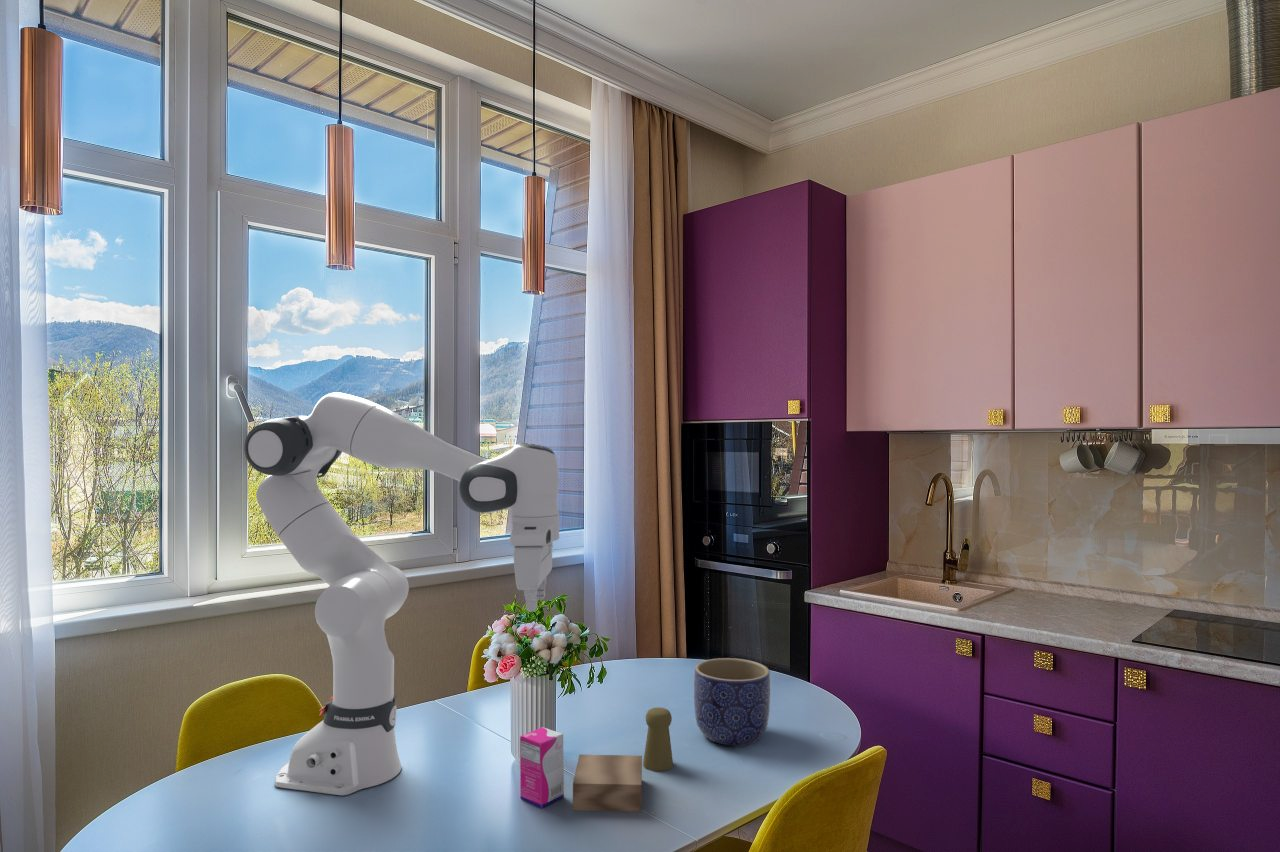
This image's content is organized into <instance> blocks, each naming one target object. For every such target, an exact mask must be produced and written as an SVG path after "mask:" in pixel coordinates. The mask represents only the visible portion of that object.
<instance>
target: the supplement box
mask: <svg viewBox="0 0 1280 852" xmlns="http://www.w3.org/2000/svg"><path fill="white" fill-rule="evenodd" d="M519 742H520V743H519V748H520V749H519V753H520V755H519V758H520V759H519V763H520V764H519V766H520V767H519V768H520V773H519V774H520V776H519V777H520V782H519V783H520V784H519V785H520V788H519V789H520V796H519V797H520V800H524V801H525V802H527V803H529V804H532V805H533V806H536V807H538V808H541V809H543V808H545V807H546V806H549V805H551V804H552V803H554V802H557V801H559V800H561V799H562V798H564V797H565V791H564V789H565V787H564V785H565V780H564V777H565V776H564V775H565V773H564V771H565V770H564V734H563V733H562V732H558V731H555V730H552V729H549V728H547V727H543V726H542V727H539V728H536V729H534V730H532V731H529V732H527V733H525V734H522V735H520V736H519Z"/></svg>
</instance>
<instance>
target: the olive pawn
mask: <svg viewBox="0 0 1280 852" xmlns="http://www.w3.org/2000/svg"><path fill="white" fill-rule="evenodd" d="M672 719H673V716H672V713H671V712H670V710H668V709H667V708H664V707H652V708H650V709H648V711H647V712H646V714H645V722H646V725H647V733H646V738H645V739H646V740H645V748H644V755H643V760H642V767H644V769H646V770H649V771H652V772H666V771H670V770H671V769H672V768H673V767H674V763H673V762H674V760H673V753H672V752H673V751H672V744H671V735H670V726H671V724H672Z"/></svg>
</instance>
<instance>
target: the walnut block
mask: <svg viewBox="0 0 1280 852" xmlns="http://www.w3.org/2000/svg"><path fill="white" fill-rule="evenodd" d="M642 775H643V755H626V754H625V755H623V754H622V755H620V754H578V758H577V763H576V768H575V773H574V776H573V777H574V778H573V782H572V811H598V812H599V811H600V812H606V811H607V812H642V786H643V785H642V783H643V782H642V780H643V776H642Z"/></svg>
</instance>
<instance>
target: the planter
mask: <svg viewBox="0 0 1280 852" xmlns="http://www.w3.org/2000/svg"><path fill="white" fill-rule="evenodd" d="M693 678H694V679H693V683H694V684H693V685H694V686H693V693H694V694H693V695H694V696H693V701H694V717H695V722H696V724H697V727H698V729H699V731H700V733H701V734H703V736H704V737H706V738H707V739H708V740H709V741H711V742H714V743H716V744H719V745H722V746H729V747H730V746H731V747H742V746H747V745H750V744H753V743H754V742H756V741H758V740H759V739H760V738H761V737H762V736H763V735H764V733H765V732H766V730H767V728H768V725H769V719H770V711H771V710H770V709H771V708H770V707H771V672H770V669H769V668H768V667H767V666H766V665H764V664H762V663H760V662H757V661H753V660H749V659H744V658H735V657H733V658H732V657H726V658H725V657H724V658H723V657H722V658H721V657H718V658H712V659H711V658H710V659H706V660H703V661H701V662H700V661H699V663H697V664H696V665H695V667H694V675H693Z"/></svg>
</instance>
